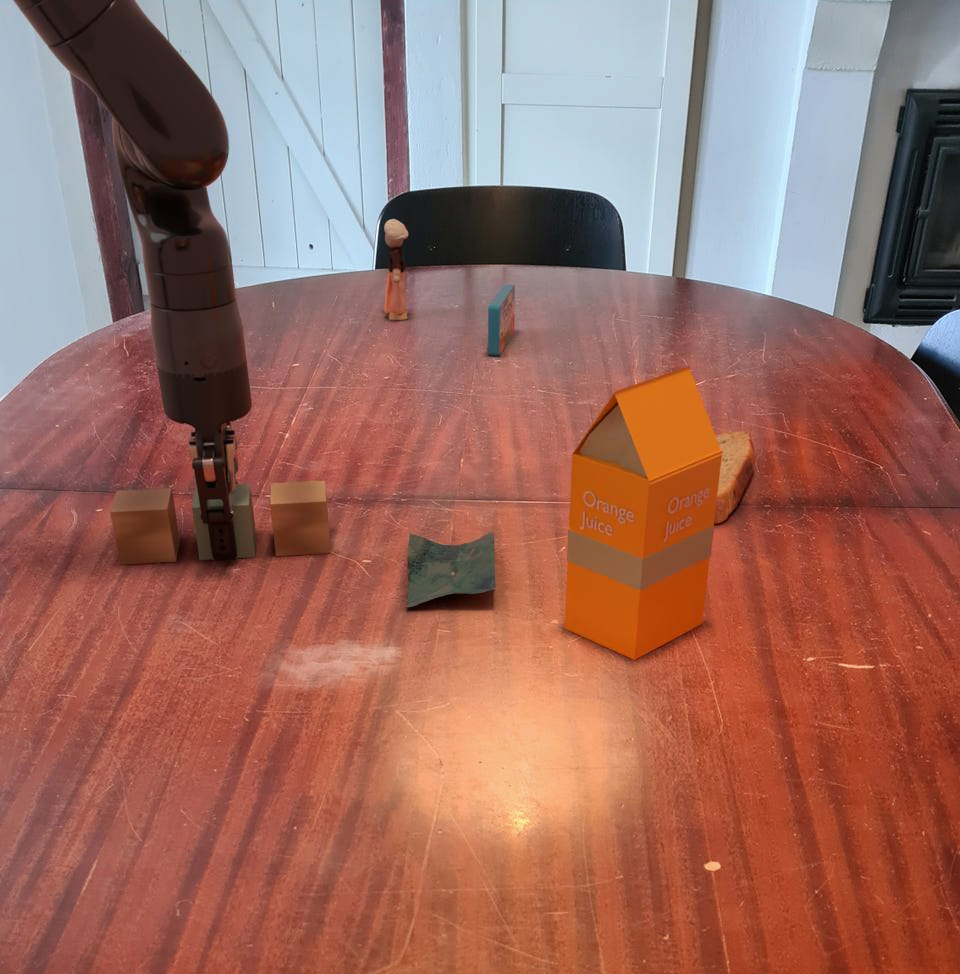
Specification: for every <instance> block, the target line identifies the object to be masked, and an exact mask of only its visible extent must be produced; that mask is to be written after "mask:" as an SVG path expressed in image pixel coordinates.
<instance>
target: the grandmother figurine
mask: <svg viewBox="0 0 960 974" xmlns="http://www.w3.org/2000/svg"><path fill="white" fill-rule="evenodd" d="M383 227H384V228H383V229H384V233H385V234H384V241H385V243H386V245H387V246H388V247H389V249H388V274H387V279H386V286H385V293H384V306H383V307H384V308H383V312H384V313H387V314H388V320H389V321H406V320H408V318H409V316H408V315H409V312H408V310H407V309H406V307H407V303H406V302H407V299H406V294H405V293H406V292H405V285H406V260H405V254H404V250H403V248H402V247H401V246H402V245H403V243H404V240H406V239H407V238H408V237H409V231H408V230H407V227H406V226H405V224H404V223H402V222H401V221H399V220H397V219H395V218H392V219H389V220H387V221H386V222H385V223H384V226H383Z"/></svg>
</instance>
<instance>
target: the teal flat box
mask: <svg viewBox="0 0 960 974" xmlns="http://www.w3.org/2000/svg"><path fill="white" fill-rule="evenodd" d="M515 304H516V286H515V284H510V283H509V284H508V283H503V284H502V286H501V287H500V289H499V290H498V291H497V293H496V294H495V296H494V297H493V299H492V300H491V302H490V303H489V304H488V309H487V328H488V329H487V347H488V348H487V350H488V351H487V355H488V356H497V357H500V356H501V355H502V353H503V352H504V350H505V348H506V346H507V345H508V343H509V341H510V340H511V338H512V336H513V334H514V333H515V318H516V317H515V316H516V315H515V313H516V311H515V309H516V306H515Z"/></svg>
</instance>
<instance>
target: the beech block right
mask: <svg viewBox="0 0 960 974" xmlns="http://www.w3.org/2000/svg"><path fill="white" fill-rule="evenodd" d="M326 486H327V485H326V480H309V481H307V480H306V481H286V482H271V483H270V491H269V492H270V494H269V495H270V497H269V506H270V517H271V525H272V526H271V527H272V535H273V543H274V552H275V557H287V556H306V555H307V556H308V555H322V554H323V555H324V554H325V555H327V554H331V552H332V551H331V537H330V536H331V535H330V523H329V509H328V498H327V497H328V496H327V487H326Z"/></svg>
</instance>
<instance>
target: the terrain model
mask: <svg viewBox="0 0 960 974" xmlns="http://www.w3.org/2000/svg"><path fill="white" fill-rule="evenodd" d="M495 548H496V547H495V532H494V531H492V532H489V533H486V534H484V535H483V536H481V537H479V538H478V539H475V540H473V541H469V542H465V543H464V542H463V543H461V544H458V545H452V544H442V543H440V542H439V543H438V542H436V541H432V540H430V539H428V538H426V537H424V536H420V535H418V534H414V533H409V537H408V543H407V565H408V586H407V587H408V588H407V601H406V608H411V607H415V606H418V605H420V604H423V603H426V602H428V601H431V600H434V599H437V598H440V597H444V596H449V595H453V594H469V595H475V594H481V593H486V592H490V591H492V590H494V589H496V588H497V585H496V554H495V552H496V550H495Z"/></svg>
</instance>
